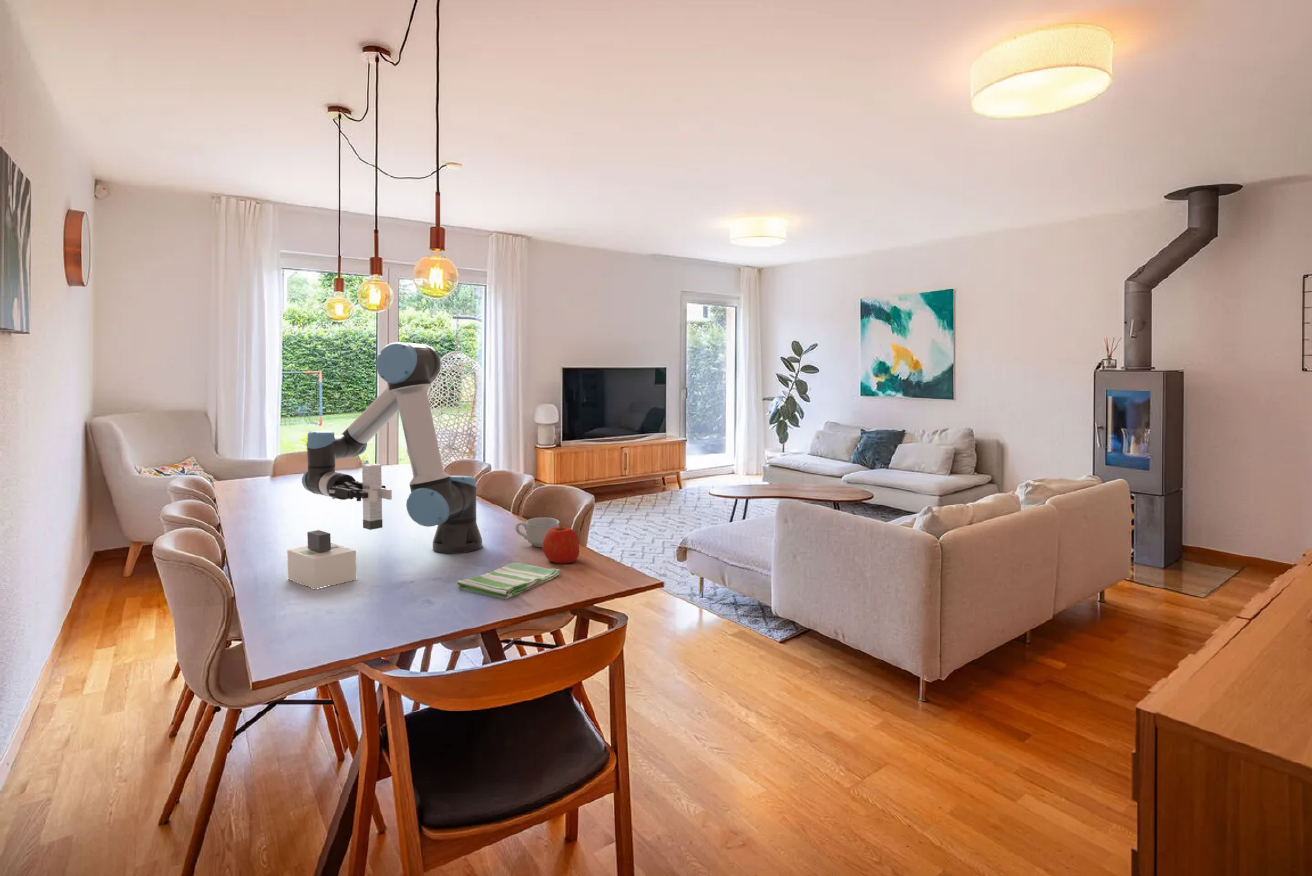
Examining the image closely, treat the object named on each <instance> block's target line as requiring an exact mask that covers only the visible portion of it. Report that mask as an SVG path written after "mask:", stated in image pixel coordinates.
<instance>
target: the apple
mask: <svg viewBox="0 0 1312 876" xmlns="http://www.w3.org/2000/svg"><path fill="white" fill-rule="evenodd" d="M578 539H579V538H578V535H577V533H576V532H575V531H574V529H572V528H570V527H567V526H559V527H553V528H552V529H550V530H549V532H548V533H547V535H546V536H545V538H544V541H543V545H542V547H541V548H542V553H543V554H544V556H545V557H546V559H547V561H549V562H552V563H555V564H562V565H563V563H564V564H570V563H571V562H572V563H574V562H576V561H577V560H578V558H579V555H580V544H579V540H578Z"/></svg>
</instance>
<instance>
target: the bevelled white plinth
mask: <svg viewBox="0 0 1312 876" xmlns="http://www.w3.org/2000/svg"><path fill="white" fill-rule="evenodd" d="M356 553H357V552H356V549H352V548H349V547H345V546H342V545H339V544H336V543H334V542H333V543H332V542H331V550H329V551H324V552H317V551H313V550H310V549H308V545H305V546H300V547H296V548H291V549H287V575H288V576H287V577H288V578H289V579H292V580H294V581H296V582H298V583H297V584H299V583H301V584H303V585H302V586H304V585H307V586H310V587H312V588H314V589H317V588H320V587H324V586H328V585H333V586H337V585H340V583H341V584H345V583H349V582H352V580H353V581H356V580H357V557H356V555H357V554H356ZM288 578H287V579H288ZM289 579H288V580H289ZM294 581H293V582H294ZM348 581H349V582H348ZM296 582H295V583H296ZM344 582H345V583H344ZM301 584H300V585H301ZM336 584H337V585H336ZM312 588H311V589H312ZM314 589H313V590H314ZM317 590H318V589H317Z"/></svg>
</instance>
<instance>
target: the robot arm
mask: <svg viewBox="0 0 1312 876" xmlns="http://www.w3.org/2000/svg"><path fill="white" fill-rule="evenodd" d="M375 365H376V371H377V373H378V376H379V377H380V378H381V379H382V380H383V381H385V382H387V387H386V388H385V389H384V390H383V391H382V392H381V393H380V394H379V395H378V396H377V397H376V398H375V399H374V400H373V402H371V403H370V405H368V406H367V408H366V409H364V411H362V412H361V414H360V415H359V416H358V417H357V418H356V419H355V420H353V422H351V424H350V425H349V426H348V427H347V428H346V429H345V430H343V432H341V434H337V435H335V432H334V431H333V430H325V429H324V430H311V431H309V432H308V433H307V437H306V438H307V441H306V442H307V443H306V449H307V450H306V451H307V454H306V455H307V470H306V471H305V472H304V473H303V475H302V478H301V484H302V487H303V488H304V489H305V490H307V491H308V492H310V493H312V494H315V495H320V496H326V497H330V498H331V499H332V500H336V499H337V500H341V501H344V500H345V501H346V500H354V499H356V502H362V500H363V499H365V500H369V501H374V502H377V501H378V497H377V492H376V491H372V490H367V489H363V482H360V481H358V480H356V479H355V477H353V476H352V475H350V474H347V473H341V472H338V471H336V460H340V459H346V458H347V459H348V458H354V457H357V456H359V455H362V454H364V453H365V452H366V450H367V447H368V442H370V441H371V440H372V439H373V438H374V437H375V435H376V434H378V432H380V430H382V429H383V427H385V425H387V424H388V423H389V422H390V421H391V419H393V417H394V416H396V415H397V414H398V413H399V415H400V420H401V425H402V430H403V434H404V440H405V443H406V447H407V452H408V456H409V457H408V458H409V463H410V466H411V472H412V476H413V477H412V479H411V480H410V482H409V488H410V490H409V491H410V494H409V495H408V497H407V500H406V506H405V507H406V511H407V513H408V516H409V517H410V518H411V520H412V521H413V522H415V523H417V524H418V525H420V526H422V527H426V528H427V527H428V528H430V527H435V526H437V527H436V531H435V534H434V536H433V537H434V538H433V539H432V550H433V551H435V552H437V553H443V554H460V553H461V554H462V553H469V552H473V551H477V550H479V549H481V548H482V547H483V538H482V534H481V532H480V530H479V526H478V523H477V490H478V489H477V483H476V481H477V480H476V478H475V477H474V476H471V475H470V476H468V475H467V476H466V475H450V474H449V473H447V472H446V471H444V467H443V463H442V458H441V453H440V448H439V443H438V438H437V434H436V430H435V424H434V419H433V416H432V415H433V414H432V410H431V406H430V401H429V400H430V399H429V395H428V390H429V389H430V387H431V386H432V383H433V382H434V381H435V380H436V379H437V377H438V376H439V374H440V371H441V366H442V361H441V358H440V355H439V354H438V352H437V351H436V350H435V349H434V348H433V347H431V346H429V345H428V344H423V343H411V342H407V341H400V342H392V343H391V342H390V343H389V344H387V345H385V346H384V347H382V349H381V350H380V352H379V353H378V354H377V357H376V364H375ZM392 491H393V490H392V489H389V488H386V485H383V484H382V499H386V500H389V501H390V500H393V496H392V495H393V492H392Z"/></svg>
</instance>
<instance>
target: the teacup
mask: <svg viewBox="0 0 1312 876" xmlns="http://www.w3.org/2000/svg"><path fill="white" fill-rule="evenodd" d="M520 526H523V527H524V530H525V533H524V532H522V531H521V530H520V529H519V527H520ZM553 527H560V520H558V519H556V518H553V517H534V518H529V519H527V520H526V522H524V521H519V522H517V523H516V525H515V531H516V533H517V534H518V535H519V536H521V537H522V538H523V539H524V540H526V541H528V543H529V544H531V545H532V546H533V545H534V546H533V547H535V546H542V545H543V541H544V538H545V536H546V535H547V533H548V532H549V530H550V529H552V528H553Z"/></svg>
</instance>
